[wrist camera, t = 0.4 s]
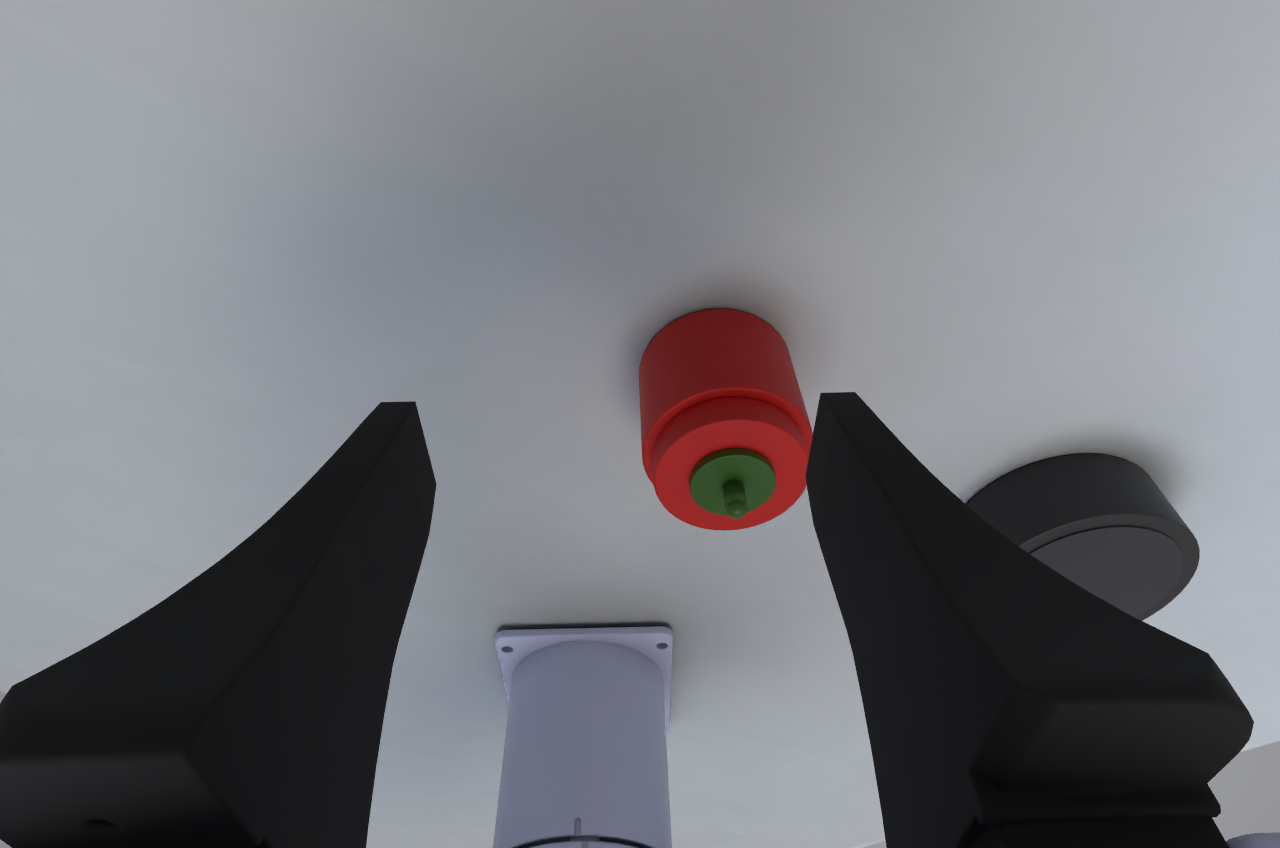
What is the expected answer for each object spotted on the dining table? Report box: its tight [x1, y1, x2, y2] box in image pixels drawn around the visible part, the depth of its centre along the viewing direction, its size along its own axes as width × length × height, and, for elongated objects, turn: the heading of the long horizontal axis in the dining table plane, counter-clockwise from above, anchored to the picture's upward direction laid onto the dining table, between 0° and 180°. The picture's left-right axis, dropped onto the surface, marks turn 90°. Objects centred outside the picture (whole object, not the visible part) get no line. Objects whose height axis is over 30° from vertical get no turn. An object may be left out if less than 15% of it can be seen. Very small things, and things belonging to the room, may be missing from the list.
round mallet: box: [966, 454, 1199, 621], centre depth 35 cm, size 26×8×3 cm, turn 0°
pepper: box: [639, 309, 813, 530], centre depth 23 cm, size 5×5×6 cm
